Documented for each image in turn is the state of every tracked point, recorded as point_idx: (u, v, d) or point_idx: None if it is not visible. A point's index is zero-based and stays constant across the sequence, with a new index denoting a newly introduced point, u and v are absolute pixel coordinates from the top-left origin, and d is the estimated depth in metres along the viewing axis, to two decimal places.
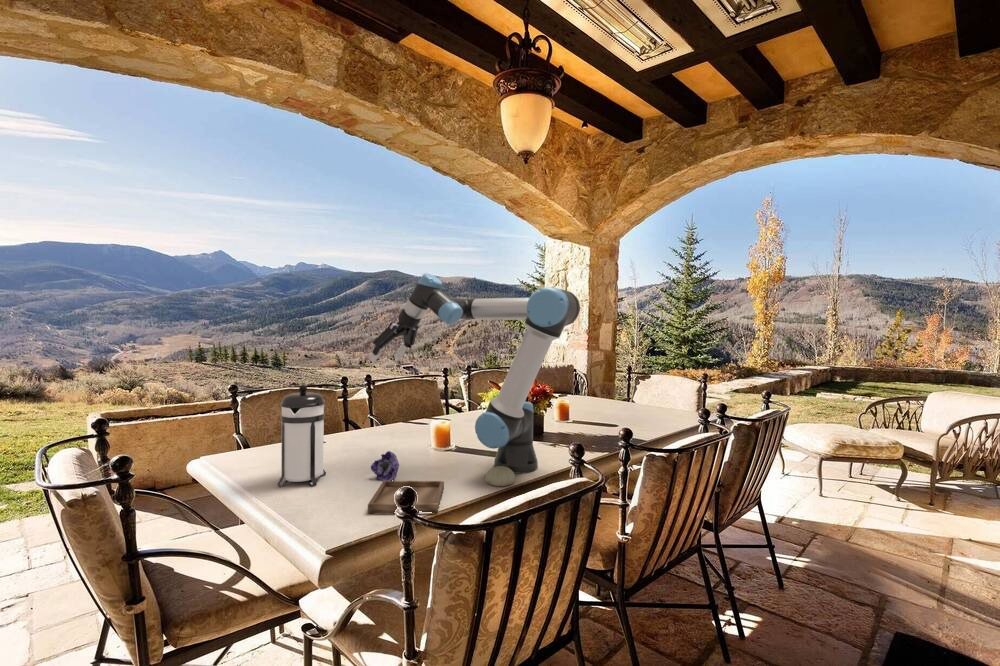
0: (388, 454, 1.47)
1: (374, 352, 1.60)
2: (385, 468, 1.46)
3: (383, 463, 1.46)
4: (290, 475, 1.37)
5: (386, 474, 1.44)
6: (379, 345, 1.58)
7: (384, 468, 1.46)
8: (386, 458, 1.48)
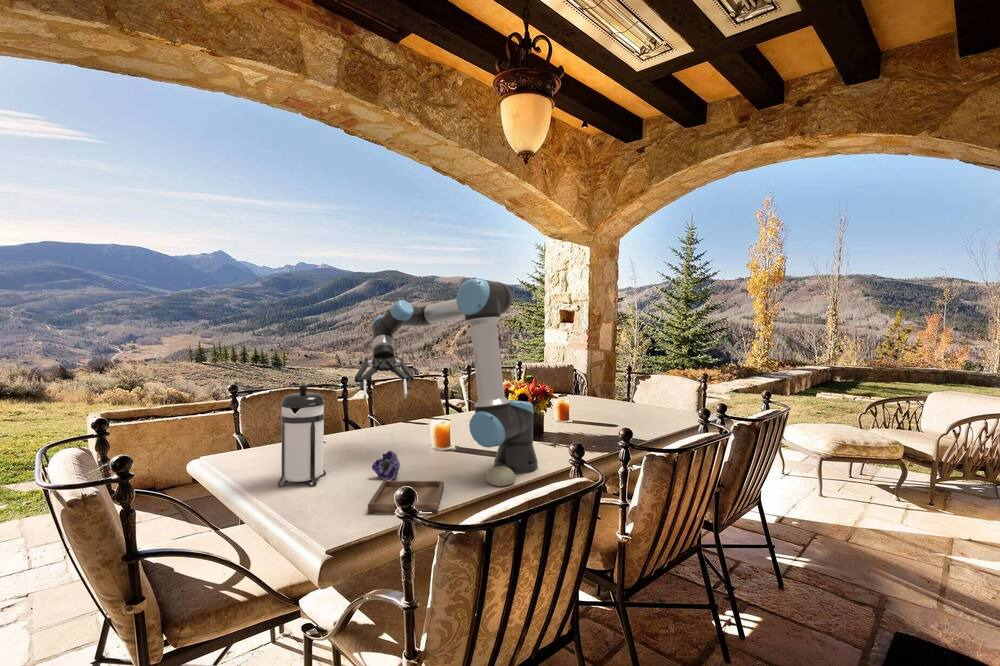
0: (389, 453, 1.48)
1: (360, 387, 1.56)
2: (386, 467, 1.46)
3: (384, 462, 1.46)
4: (290, 475, 1.37)
5: (387, 473, 1.45)
6: (357, 376, 1.58)
7: (385, 467, 1.46)
8: (387, 457, 1.49)
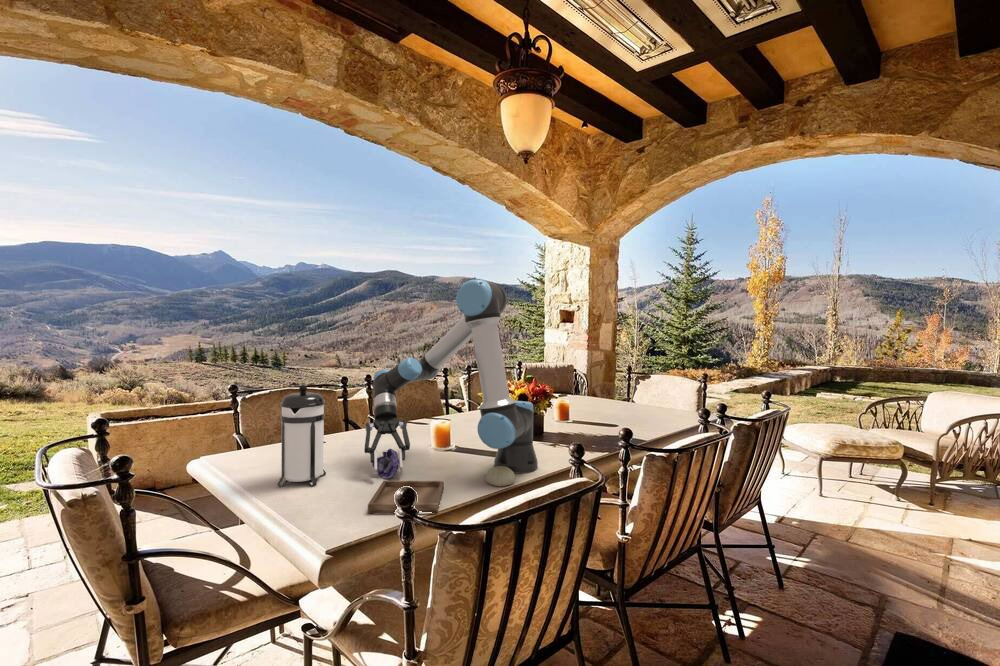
0: (389, 452, 1.50)
1: (370, 459, 1.44)
2: (386, 465, 1.48)
3: (384, 460, 1.49)
4: (290, 475, 1.37)
5: (386, 471, 1.47)
6: (366, 446, 1.46)
7: (385, 465, 1.48)
8: (388, 455, 1.51)
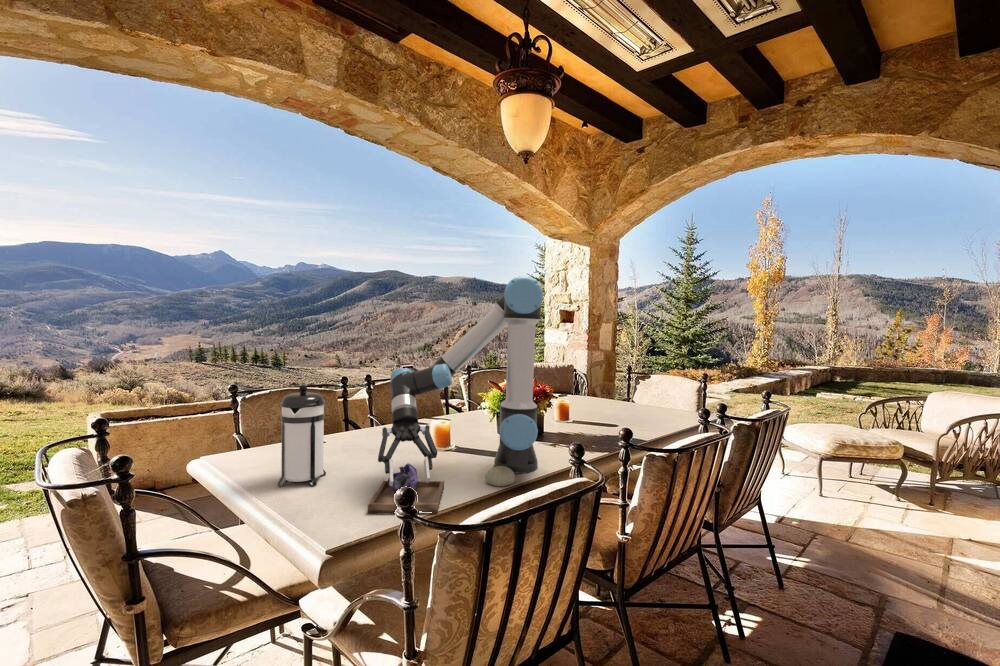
0: (407, 467, 1.31)
1: (385, 469, 1.25)
2: (403, 483, 1.29)
3: (401, 477, 1.30)
4: (290, 475, 1.37)
5: None
6: (380, 454, 1.27)
7: (402, 482, 1.30)
8: (406, 471, 1.32)
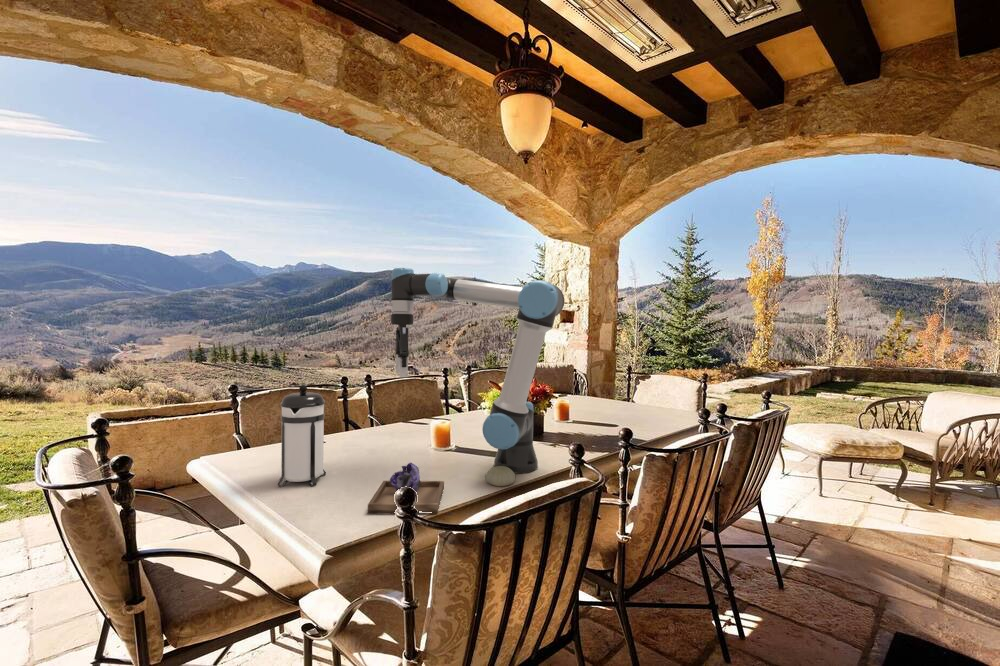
0: (410, 466, 1.32)
1: (404, 364, 1.50)
2: (405, 482, 1.30)
3: (403, 476, 1.31)
4: (290, 475, 1.37)
5: None
6: (408, 353, 1.49)
7: (404, 481, 1.30)
8: (408, 470, 1.33)
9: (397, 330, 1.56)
